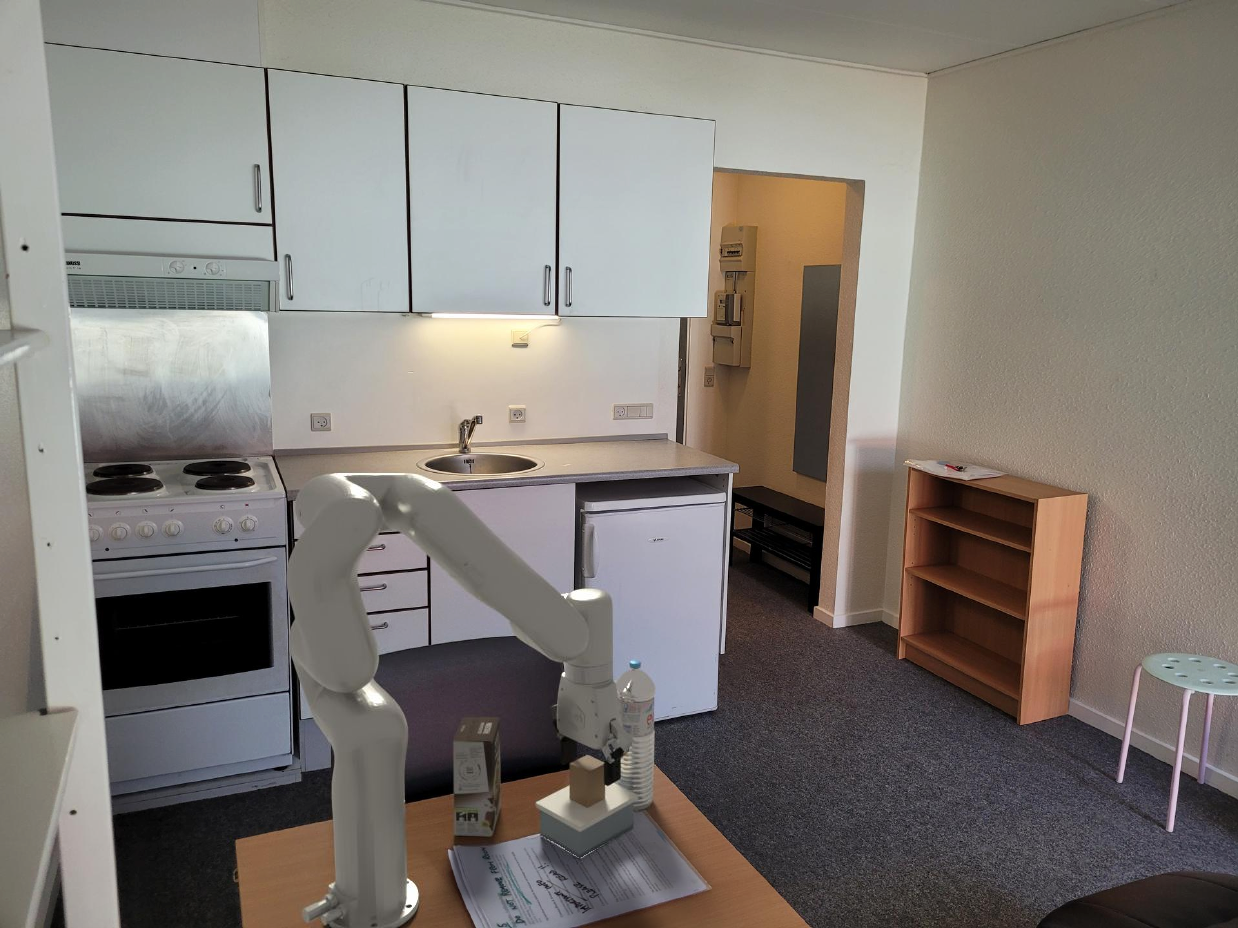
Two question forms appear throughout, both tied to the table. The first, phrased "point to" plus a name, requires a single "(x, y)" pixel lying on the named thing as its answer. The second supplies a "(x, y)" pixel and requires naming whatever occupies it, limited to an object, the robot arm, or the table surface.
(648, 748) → the water bottle
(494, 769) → the coffee box
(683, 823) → the table surface
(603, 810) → the lid
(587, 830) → the box
